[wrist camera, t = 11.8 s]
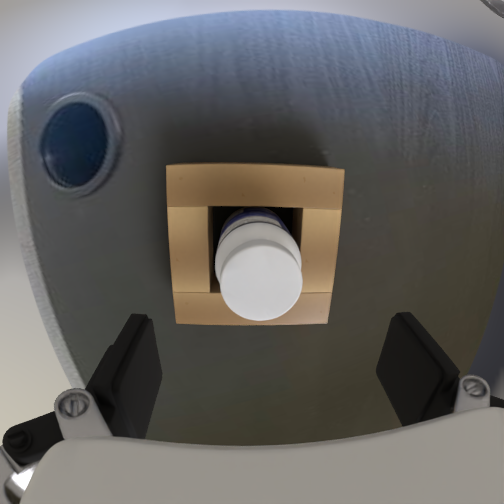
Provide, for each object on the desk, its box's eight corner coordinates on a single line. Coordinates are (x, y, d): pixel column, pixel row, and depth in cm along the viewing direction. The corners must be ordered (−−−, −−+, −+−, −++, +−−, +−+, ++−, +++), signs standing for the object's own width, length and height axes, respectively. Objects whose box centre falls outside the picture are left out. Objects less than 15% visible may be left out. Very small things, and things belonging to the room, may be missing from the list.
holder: (177, 163, 24) (166, 165, 20) (329, 166, 24) (344, 169, 20) (183, 301, 28) (175, 323, 24) (316, 301, 28) (327, 323, 24)
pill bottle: (284, 267, 27) (307, 328, 17) (221, 267, 27) (212, 329, 17) (287, 204, 25) (315, 236, 16) (220, 204, 25) (207, 236, 15)
